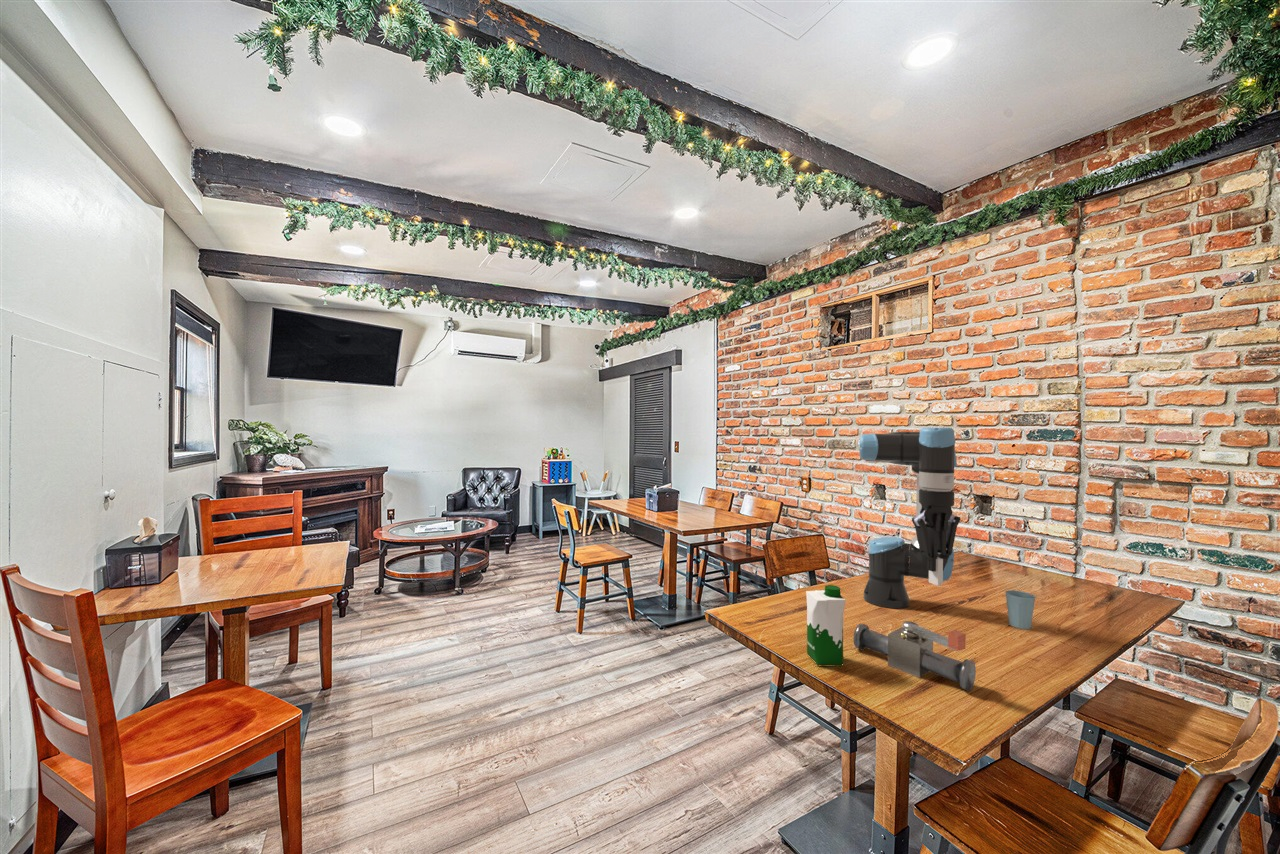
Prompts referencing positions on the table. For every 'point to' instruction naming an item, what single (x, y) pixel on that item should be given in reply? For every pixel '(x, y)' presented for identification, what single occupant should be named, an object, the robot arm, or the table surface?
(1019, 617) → the cup
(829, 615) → the milk carton
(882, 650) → the valve body
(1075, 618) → the table surface
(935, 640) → the lever
